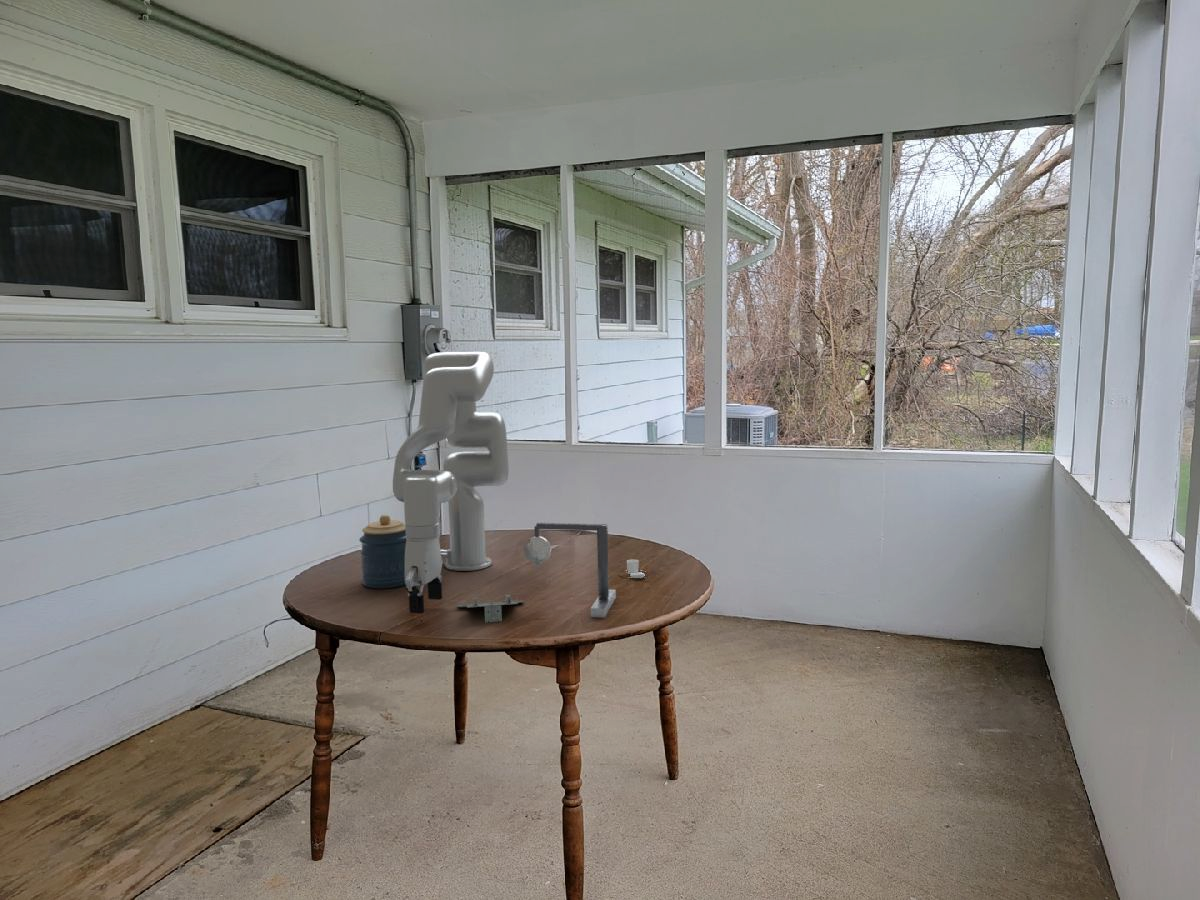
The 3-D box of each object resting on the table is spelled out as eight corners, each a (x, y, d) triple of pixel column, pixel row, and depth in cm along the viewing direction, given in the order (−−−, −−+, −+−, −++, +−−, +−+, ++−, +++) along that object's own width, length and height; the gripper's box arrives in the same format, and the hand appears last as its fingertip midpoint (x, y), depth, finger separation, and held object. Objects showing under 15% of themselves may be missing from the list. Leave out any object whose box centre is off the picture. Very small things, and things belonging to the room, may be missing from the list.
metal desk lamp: (517, 613, 174) (515, 529, 172) (535, 594, 188) (533, 516, 186) (604, 617, 170) (602, 532, 168) (615, 598, 184) (614, 518, 182)
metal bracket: (527, 594, 170) (457, 599, 168) (528, 621, 170) (458, 626, 167) (522, 593, 184) (457, 598, 182) (523, 618, 183) (458, 623, 181)
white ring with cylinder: (645, 582, 198) (645, 566, 198) (614, 580, 200) (614, 565, 199) (650, 572, 207) (650, 557, 206) (621, 571, 208) (620, 556, 208)
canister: (421, 583, 199) (417, 515, 197) (370, 592, 192) (366, 522, 190) (404, 572, 210) (401, 507, 208) (355, 580, 203) (352, 513, 201)
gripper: (423, 522, 182) (426, 593, 184) (389, 539, 166) (393, 617, 168) (453, 523, 181) (456, 594, 183) (422, 540, 164) (425, 619, 166)
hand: (426, 605), depth 175 cm, fingers open, 9 cm apart
